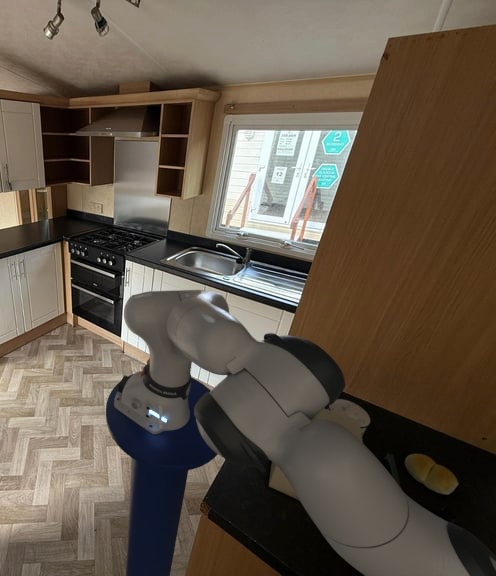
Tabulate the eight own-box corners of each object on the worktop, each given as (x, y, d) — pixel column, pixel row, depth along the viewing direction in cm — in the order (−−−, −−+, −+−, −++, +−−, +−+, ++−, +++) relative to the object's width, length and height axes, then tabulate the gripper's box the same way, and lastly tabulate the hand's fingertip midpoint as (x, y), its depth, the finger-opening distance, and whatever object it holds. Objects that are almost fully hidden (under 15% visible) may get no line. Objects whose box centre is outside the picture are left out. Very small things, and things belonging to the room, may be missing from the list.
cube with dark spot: (336, 465, 77) (360, 417, 70) (339, 519, 66) (369, 469, 59) (274, 440, 84) (290, 394, 76) (268, 486, 73) (286, 437, 65)
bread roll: (412, 454, 80) (419, 443, 78) (459, 485, 73) (467, 474, 71) (395, 467, 77) (402, 456, 75) (442, 501, 70) (451, 490, 68)
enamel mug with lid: (358, 457, 79) (375, 425, 74) (317, 438, 84) (330, 407, 79) (358, 425, 88) (374, 394, 83) (321, 410, 93) (333, 380, 88)
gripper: (380, 596, 53) (369, 519, 64) (563, 695, 44) (514, 585, 54) (395, 579, 50) (381, 501, 61) (594, 680, 41) (536, 566, 52)
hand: (445, 541), depth 58 cm, fingers open, 8 cm apart
